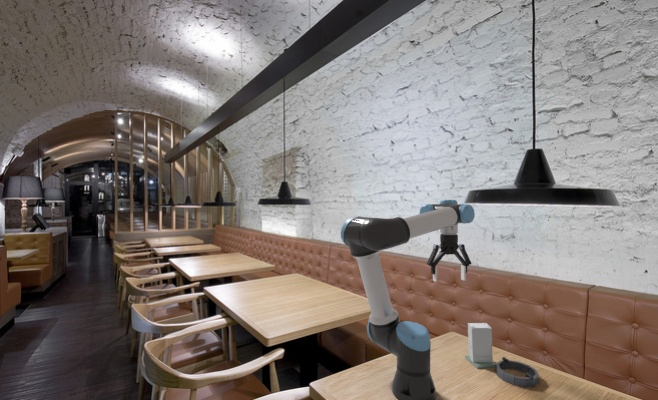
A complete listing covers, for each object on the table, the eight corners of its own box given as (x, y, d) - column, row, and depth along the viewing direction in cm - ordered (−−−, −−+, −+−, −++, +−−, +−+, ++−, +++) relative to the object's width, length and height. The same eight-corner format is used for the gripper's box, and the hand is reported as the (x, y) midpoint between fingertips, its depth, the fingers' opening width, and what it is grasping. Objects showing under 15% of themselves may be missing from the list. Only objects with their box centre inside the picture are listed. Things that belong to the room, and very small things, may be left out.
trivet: (477, 368, 131) (477, 366, 131) (465, 358, 140) (465, 355, 140) (497, 366, 132) (497, 364, 132) (484, 356, 141) (484, 354, 141)
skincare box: (487, 356, 139) (487, 322, 139) (493, 363, 133) (493, 327, 133) (467, 355, 139) (467, 321, 140) (472, 362, 133) (471, 327, 134)
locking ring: (514, 389, 116) (514, 378, 116) (487, 368, 131) (487, 358, 131) (549, 386, 118) (549, 375, 118) (518, 365, 133) (518, 355, 133)
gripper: (426, 235, 139) (426, 283, 139) (479, 234, 142) (479, 281, 142) (419, 233, 146) (419, 279, 146) (469, 232, 150) (470, 277, 150)
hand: (449, 280), depth 144 cm, fingers open, 13 cm apart
